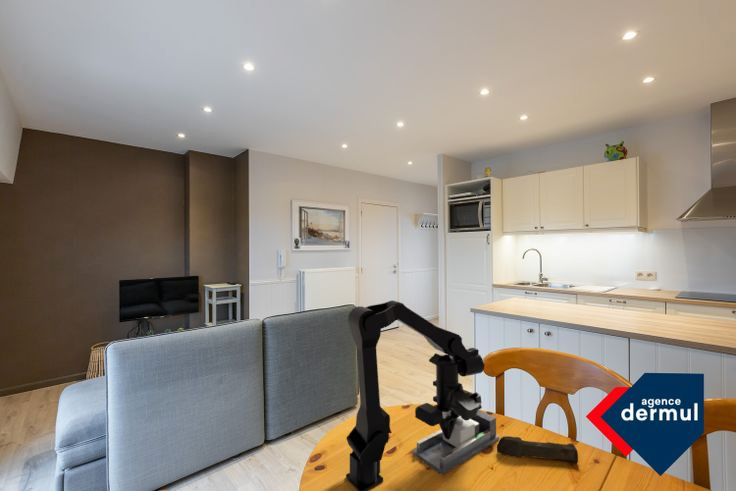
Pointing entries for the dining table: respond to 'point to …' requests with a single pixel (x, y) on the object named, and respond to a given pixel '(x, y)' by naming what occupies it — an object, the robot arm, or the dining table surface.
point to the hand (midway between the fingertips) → (447, 438)
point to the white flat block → (475, 426)
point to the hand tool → (536, 449)
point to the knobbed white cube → (461, 432)
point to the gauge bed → (449, 456)
